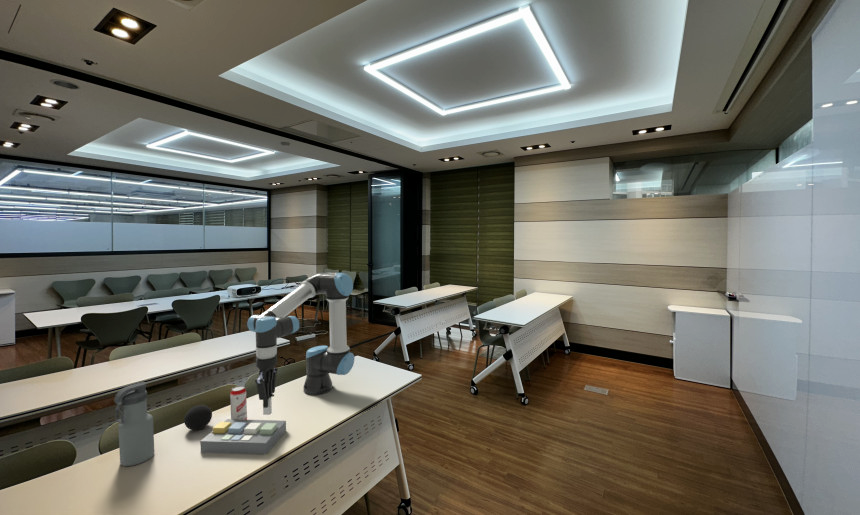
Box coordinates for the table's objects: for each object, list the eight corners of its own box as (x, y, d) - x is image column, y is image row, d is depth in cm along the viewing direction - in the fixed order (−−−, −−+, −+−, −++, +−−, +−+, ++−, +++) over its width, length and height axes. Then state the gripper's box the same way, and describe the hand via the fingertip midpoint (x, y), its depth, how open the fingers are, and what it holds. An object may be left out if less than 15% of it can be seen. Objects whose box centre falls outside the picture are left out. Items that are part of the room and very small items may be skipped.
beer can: (250, 420, 153) (249, 386, 152) (238, 428, 147) (237, 392, 146) (239, 418, 155) (238, 384, 154) (227, 425, 149) (226, 390, 148)
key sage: (266, 428, 139) (266, 422, 139) (277, 428, 139) (276, 423, 139) (260, 435, 135) (259, 429, 135) (271, 435, 135) (271, 429, 134)
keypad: (227, 429, 146) (227, 418, 146) (286, 430, 145) (285, 420, 145) (200, 452, 130) (200, 440, 130) (266, 454, 129) (265, 442, 129)
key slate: (235, 427, 140) (235, 422, 140) (246, 428, 140) (246, 422, 140) (228, 434, 135) (228, 428, 135) (239, 434, 135) (239, 428, 135)
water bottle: (124, 471, 120) (120, 394, 118) (114, 462, 125) (110, 387, 123) (159, 456, 128) (155, 383, 127) (148, 447, 133) (145, 378, 132)
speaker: (203, 420, 154) (203, 398, 153) (217, 425, 149) (216, 403, 149) (179, 431, 145) (178, 408, 144) (193, 437, 140) (192, 413, 140)
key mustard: (220, 427, 140) (220, 421, 140) (231, 427, 140) (231, 422, 140) (213, 433, 136) (212, 427, 136) (224, 434, 136) (223, 428, 135)
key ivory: (250, 428, 140) (250, 422, 140) (261, 428, 139) (261, 422, 139) (244, 434, 135) (244, 428, 135) (255, 434, 135) (255, 429, 135)
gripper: (266, 350, 142) (267, 405, 143) (247, 361, 129) (249, 422, 130) (283, 351, 142) (284, 406, 143) (267, 361, 129) (267, 422, 130)
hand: (267, 413), depth 136 cm, fingers closed
